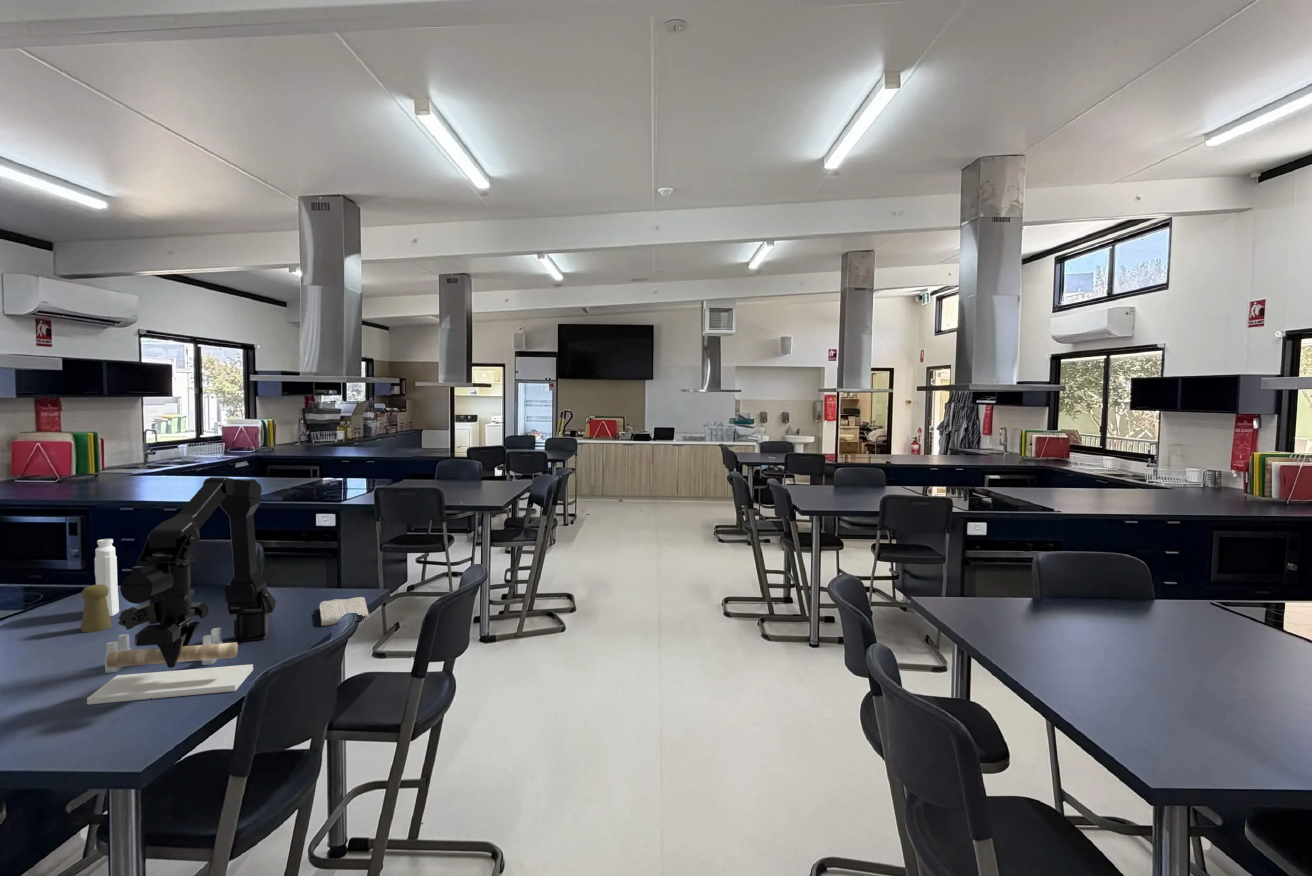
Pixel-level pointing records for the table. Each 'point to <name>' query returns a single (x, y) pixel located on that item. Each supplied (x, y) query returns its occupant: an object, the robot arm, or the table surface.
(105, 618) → the cork
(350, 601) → the washcloth
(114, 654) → the beech dowel
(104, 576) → the squeeze bottle
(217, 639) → the aluminium cradles
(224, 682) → the cutting board
